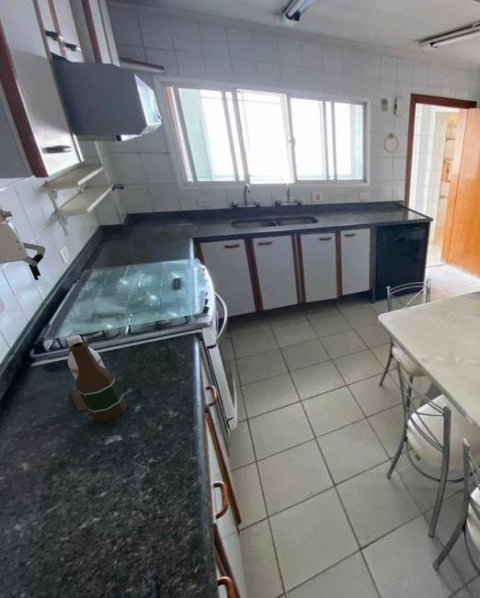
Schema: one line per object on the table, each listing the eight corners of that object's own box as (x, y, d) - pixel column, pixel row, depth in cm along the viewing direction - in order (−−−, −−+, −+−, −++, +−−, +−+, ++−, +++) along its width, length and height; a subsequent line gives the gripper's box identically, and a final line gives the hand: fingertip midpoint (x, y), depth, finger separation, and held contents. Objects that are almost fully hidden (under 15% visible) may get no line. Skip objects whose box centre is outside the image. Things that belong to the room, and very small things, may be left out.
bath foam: (80, 393, 101) (52, 339, 92) (108, 381, 106) (83, 328, 97) (90, 402, 98) (61, 347, 89) (117, 389, 103) (93, 335, 94)
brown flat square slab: (78, 412, 95) (78, 411, 94) (70, 392, 101) (70, 391, 101) (129, 392, 103) (129, 391, 103) (119, 375, 110) (118, 374, 110)
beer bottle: (109, 403, 98) (76, 335, 88) (134, 404, 98) (105, 337, 88) (86, 423, 91) (47, 352, 81) (113, 424, 91) (78, 354, 81)
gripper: (30, 212, 88) (53, 272, 95) (-79, 218, 75) (-43, 287, 82) (34, 217, 83) (58, 279, 91) (-81, 224, 71) (-43, 296, 78)
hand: (10, 283), depth 86 cm, fingers open, 9 cm apart
